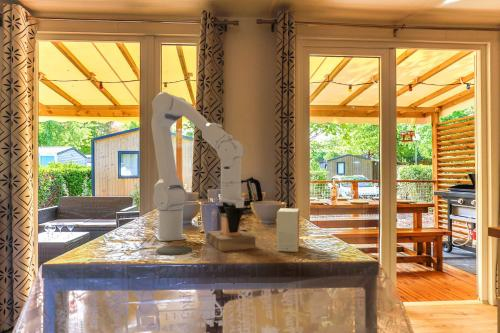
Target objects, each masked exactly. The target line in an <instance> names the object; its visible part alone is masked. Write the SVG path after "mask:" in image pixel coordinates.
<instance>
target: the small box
mask: <svg viewBox="0 0 500 333" xmlns="http://www.w3.org/2000/svg"><path fill="white" fill-rule="evenodd" d="M299 247H300V208H291V207H290V208H285V207H280V208H279V209H278V211H276V251H277V252H293V253H297V252H299Z"/></svg>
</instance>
